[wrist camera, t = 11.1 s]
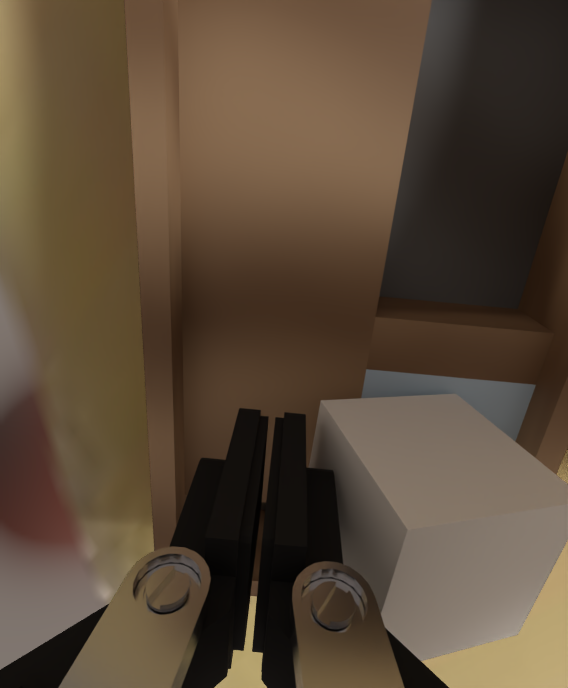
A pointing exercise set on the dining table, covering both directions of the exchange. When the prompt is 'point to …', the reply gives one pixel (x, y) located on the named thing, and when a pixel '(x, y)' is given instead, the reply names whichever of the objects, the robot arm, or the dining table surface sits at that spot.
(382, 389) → the bay
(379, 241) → the tray
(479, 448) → the block
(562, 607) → the dining table surface
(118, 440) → the dining table surface
